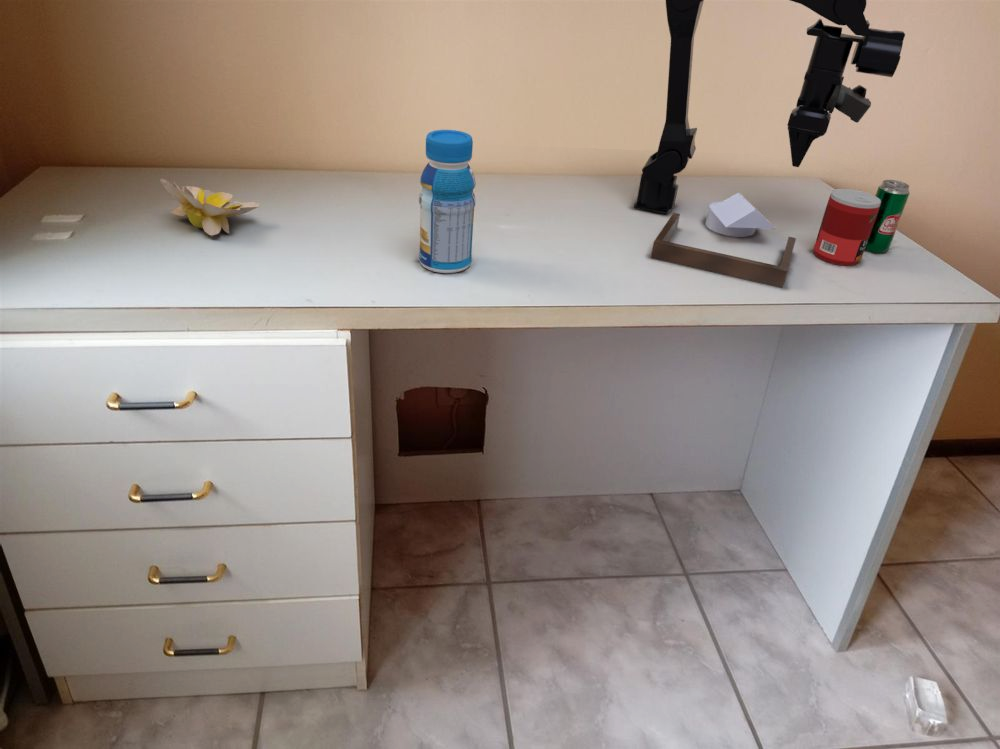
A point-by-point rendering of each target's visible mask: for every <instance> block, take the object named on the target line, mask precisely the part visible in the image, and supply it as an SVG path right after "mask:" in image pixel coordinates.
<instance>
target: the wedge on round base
mask: <svg viewBox="0 0 1000 749" xmlns="http://www.w3.org/2000/svg"><path fill="white" fill-rule="evenodd" d="M705 226H706V227H707V229H709V230H710V231H712V232H714V233H716V234H720V235H722V236H728V237H732V238H733V237H734V238H738V237H739V238H746V237H750V236H753V235H754V234H755V233H756V231H757V230H756V229H767V230H768V229H769V230H776V227H774V226H773V224H772V223H771V222H770V221H769V220H768V219H767V218H766V217H765V216H764V215H763V214H762V213H761V212H760V211H759V210H758V209H757V208H756V207H755V206H754V205H753V204H752V203H750V201H749V200H748V199H746V198H745V196H743V195H742V193H741V192H739V191H738V192H736V193H735V194H733V195H732V196H730V197H728V198H727V199H725V200H717V201H714V202H711V203H710V204H709V206H708V210H707V215H706V219H705Z"/></svg>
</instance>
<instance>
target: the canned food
mask: <svg viewBox="0 0 1000 749" xmlns="http://www.w3.org/2000/svg"><path fill="white" fill-rule="evenodd" d="M880 203H881V200H880V199H879V198H878V197H876V196H875V195H874V194H872V193H869V192H866V191H863V190H860V189H859V190H858V189H852V188H835V189H833V190H832V191H831V192H830V195H829V197H828V200H827V203H826V206H825V210H824V213H823V216H822V220H821V223H820V225H819V228H818V232H817V236H816V238H815V242H814V245H813V253H814V255H815V257H817V258H818V259H820V260H821V261H823V262H826V263H829V264H832V265H837V266H844V267H845V266H855V265H857V264H859V263H860V261H861V260H862V259H863V255H864V253H865V251H866V250H865V247H866V245H867V242H868V239H869V236H870V233H871V231H872V228H873V225H874V222H875V219H876V216H877V214H878V211H879V208H880Z"/></svg>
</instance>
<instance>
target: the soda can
mask: <svg viewBox="0 0 1000 749" xmlns="http://www.w3.org/2000/svg"><path fill="white" fill-rule="evenodd" d="M881 182H882V183H881V184H880V185H878V187H877V189H876V193H875V195H874V196H876V197H878V198H879V199H880V200H881V203H880V208H879V211H878V214H877V216H876V219H875V222H874V225H873V228H872V231H871V233H870V236H869V239H868V242H867V245H866V247H865V250H864V251H867V252H870V253H874V254H884V253H886V252H887V251H889V250H890V247H891V245H892V243H893V241H894V237H895V234H896V231H897V229H898V226H899V223H900V221H901V218H902V215H903V213H904V209H905V208H906V205H907V202H908V198H909V196H910V190H909V189H910V185H909V184H908V183H906V182H904V181H899V180H895V179H884V180H882V181H881Z"/></svg>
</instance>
